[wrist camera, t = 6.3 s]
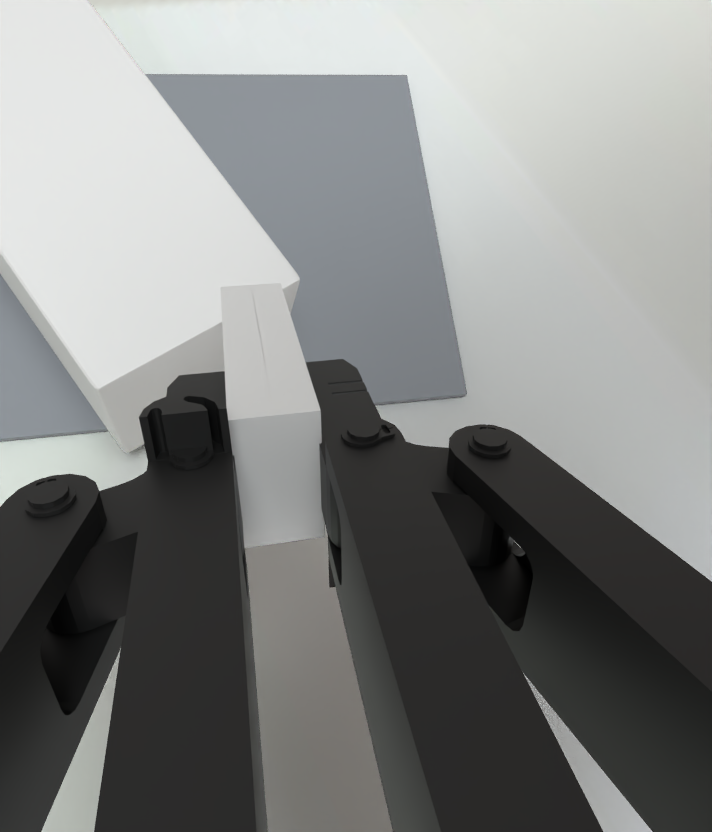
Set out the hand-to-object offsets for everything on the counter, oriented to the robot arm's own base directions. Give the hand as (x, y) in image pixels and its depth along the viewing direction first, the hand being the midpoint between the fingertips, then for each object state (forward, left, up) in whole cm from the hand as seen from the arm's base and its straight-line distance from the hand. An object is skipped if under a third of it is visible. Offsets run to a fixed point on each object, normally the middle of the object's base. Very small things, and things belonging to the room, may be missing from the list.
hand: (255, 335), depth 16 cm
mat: (+2, -9, -10) cm, 13 cm away
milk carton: (+1, -1, -6) cm, 6 cm away
